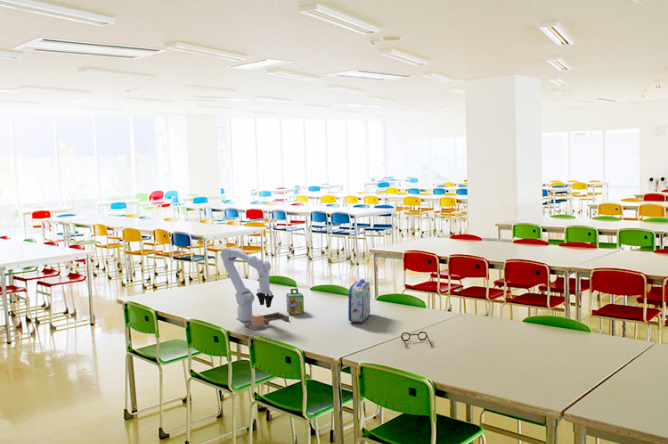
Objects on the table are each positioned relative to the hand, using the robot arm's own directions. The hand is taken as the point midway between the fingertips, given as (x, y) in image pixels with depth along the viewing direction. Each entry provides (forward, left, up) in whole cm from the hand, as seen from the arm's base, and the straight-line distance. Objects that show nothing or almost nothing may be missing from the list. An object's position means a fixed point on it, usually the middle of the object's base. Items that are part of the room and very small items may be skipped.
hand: (265, 306), depth 332 cm
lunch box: (+30, +45, -10) cm, 55 cm away
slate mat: (+5, -8, -9) cm, 13 cm away
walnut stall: (+1, +4, -9) cm, 10 cm away
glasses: (+86, +37, -10) cm, 94 cm away
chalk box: (-7, +24, -10) cm, 27 cm away
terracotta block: (+5, -8, -9) cm, 13 cm away
